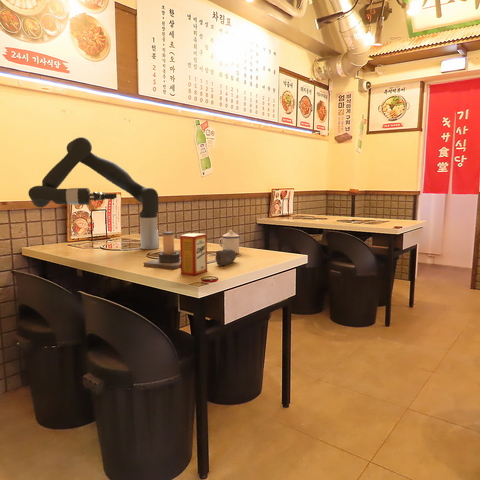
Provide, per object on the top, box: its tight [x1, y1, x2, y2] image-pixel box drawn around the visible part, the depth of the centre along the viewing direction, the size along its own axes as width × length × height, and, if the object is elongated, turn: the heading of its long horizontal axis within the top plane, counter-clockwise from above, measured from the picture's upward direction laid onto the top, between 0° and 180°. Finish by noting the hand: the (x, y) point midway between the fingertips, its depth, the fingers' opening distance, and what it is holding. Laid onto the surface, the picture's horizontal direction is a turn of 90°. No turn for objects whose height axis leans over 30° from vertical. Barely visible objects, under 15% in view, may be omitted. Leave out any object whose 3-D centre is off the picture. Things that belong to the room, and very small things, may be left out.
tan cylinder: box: [162, 231, 175, 255], centre depth 177 cm, size 5×5×13 cm
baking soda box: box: [179, 232, 208, 277], centre depth 161 cm, size 10×6×16 cm
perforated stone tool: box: [214, 249, 237, 267], centre depth 179 cm, size 15×5×7 cm, turn 148°
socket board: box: [143, 251, 181, 271], centre depth 178 cm, size 16×16×5 cm
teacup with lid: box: [218, 229, 240, 254], centre depth 208 cm, size 12×9×12 cm
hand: (115, 196), depth 183 cm, fingers open, 8 cm apart
